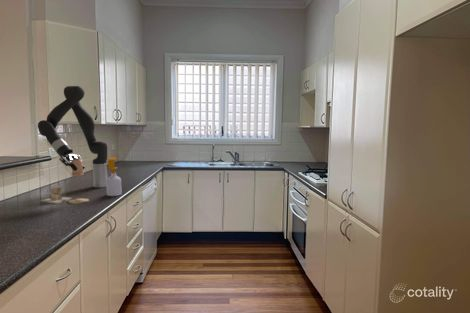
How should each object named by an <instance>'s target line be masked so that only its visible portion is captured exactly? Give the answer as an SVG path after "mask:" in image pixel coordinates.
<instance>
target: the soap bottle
mask: <svg viewBox="0 0 470 313" xmlns="http://www.w3.org/2000/svg"><path fill="white" fill-rule="evenodd" d="M117 158H118V157H116V156H111V157H109V158H108V159H107V169H110V170H111V172H110V176H108V178H107V180H106V187H105V188H106V196H108V197H117V196H120V195H121V196H122V194H123V193H122V192H123V191H122V178H121V177H120V176H118V175H117V172H116V169H118V167H117V166H116V167H115V161H116V160H117Z"/></svg>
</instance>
